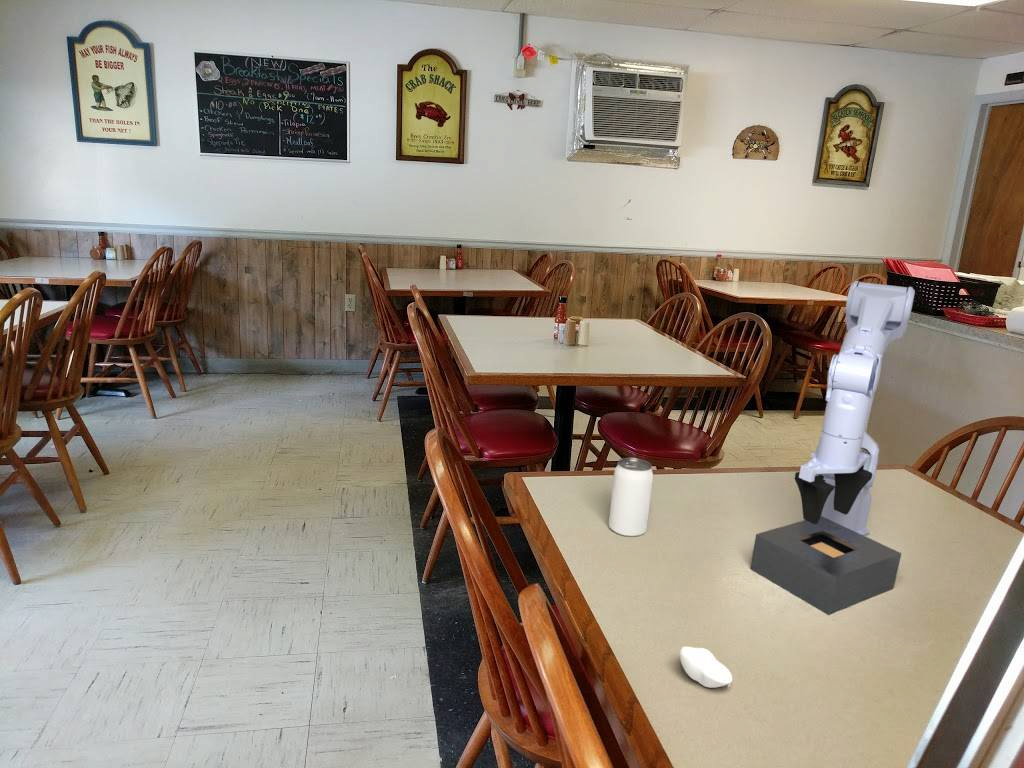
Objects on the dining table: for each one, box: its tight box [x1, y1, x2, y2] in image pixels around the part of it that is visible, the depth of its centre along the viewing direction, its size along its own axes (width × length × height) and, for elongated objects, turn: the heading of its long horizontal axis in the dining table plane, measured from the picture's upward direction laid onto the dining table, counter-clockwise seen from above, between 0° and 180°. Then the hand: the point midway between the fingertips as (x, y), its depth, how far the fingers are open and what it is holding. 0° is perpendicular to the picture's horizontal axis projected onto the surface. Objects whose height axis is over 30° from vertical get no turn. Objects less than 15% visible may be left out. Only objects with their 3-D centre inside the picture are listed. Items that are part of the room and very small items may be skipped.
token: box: [811, 542, 844, 558], centre depth 112 cm, size 4×4×4 cm
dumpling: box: [679, 645, 733, 689], centre depth 86 cm, size 7×5×4 cm
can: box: [608, 457, 654, 538], centre depth 123 cm, size 6×6×12 cm
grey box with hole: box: [750, 516, 903, 616], centre depth 111 cm, size 16×14×6 cm
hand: (825, 516), depth 111 cm, fingers open, 7 cm apart
